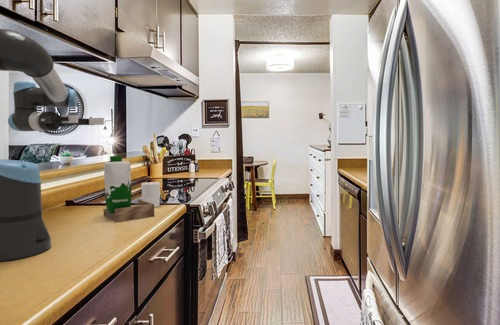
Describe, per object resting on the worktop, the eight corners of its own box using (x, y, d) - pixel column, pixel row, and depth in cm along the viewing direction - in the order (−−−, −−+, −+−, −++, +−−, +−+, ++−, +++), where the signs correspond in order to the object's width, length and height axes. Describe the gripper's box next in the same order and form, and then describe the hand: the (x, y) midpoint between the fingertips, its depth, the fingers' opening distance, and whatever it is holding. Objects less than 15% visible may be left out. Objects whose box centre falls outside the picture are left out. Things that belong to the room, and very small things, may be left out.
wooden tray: (115, 222, 112) (115, 209, 112) (103, 215, 122) (103, 203, 122) (154, 216, 121) (154, 204, 121) (140, 210, 131) (139, 199, 131)
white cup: (155, 208, 135) (154, 184, 135) (138, 207, 137) (137, 184, 136) (164, 204, 143) (163, 182, 142) (147, 204, 144) (147, 182, 144)
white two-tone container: (128, 207, 125) (126, 155, 124) (134, 211, 117) (132, 156, 116) (103, 210, 120) (101, 156, 119) (108, 214, 113) (106, 157, 111)
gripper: (71, 131, 140) (113, 131, 134) (16, 129, 116) (64, 128, 110) (70, 114, 139) (112, 112, 134) (15, 108, 115) (63, 106, 110)
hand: (91, 120), depth 122 cm, fingers open, 13 cm apart
